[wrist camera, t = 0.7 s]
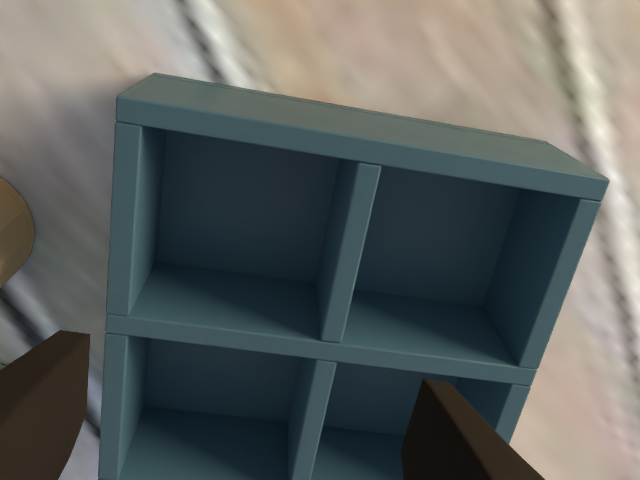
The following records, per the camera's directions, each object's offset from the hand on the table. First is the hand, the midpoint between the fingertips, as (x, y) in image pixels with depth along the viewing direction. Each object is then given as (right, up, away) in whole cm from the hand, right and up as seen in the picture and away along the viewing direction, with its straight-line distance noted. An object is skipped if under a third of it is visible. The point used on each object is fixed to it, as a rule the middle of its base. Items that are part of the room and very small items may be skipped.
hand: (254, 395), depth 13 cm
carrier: (+1, +2, +10) cm, 10 cm away
